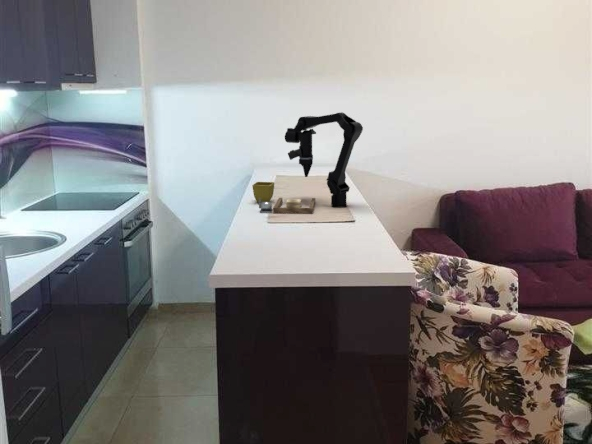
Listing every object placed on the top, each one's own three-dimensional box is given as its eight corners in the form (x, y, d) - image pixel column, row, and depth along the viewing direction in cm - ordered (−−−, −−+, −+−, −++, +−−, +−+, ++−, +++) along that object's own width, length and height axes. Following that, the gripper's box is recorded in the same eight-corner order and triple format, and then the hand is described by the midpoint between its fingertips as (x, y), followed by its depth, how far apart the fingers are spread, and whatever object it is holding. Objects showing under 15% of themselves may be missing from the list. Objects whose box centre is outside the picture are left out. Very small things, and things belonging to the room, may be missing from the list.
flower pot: (270, 204, 291) (270, 185, 289) (252, 203, 293) (252, 184, 291) (274, 200, 300) (274, 182, 298) (257, 200, 301) (256, 181, 299)
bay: (315, 203, 293) (315, 198, 293) (312, 213, 271) (312, 208, 270) (279, 202, 295) (279, 197, 294) (273, 213, 272) (273, 207, 272)
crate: (301, 210, 278) (301, 199, 277) (300, 213, 272) (300, 202, 271) (287, 210, 279) (287, 199, 278) (286, 213, 273) (286, 202, 272)
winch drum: (272, 210, 278) (272, 197, 276) (271, 212, 273) (271, 199, 272) (260, 210, 278) (259, 197, 277) (258, 212, 274) (258, 199, 272)
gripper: (289, 141, 300) (290, 173, 303) (287, 146, 281) (288, 180, 285) (312, 141, 299) (312, 173, 303) (312, 145, 281) (312, 180, 285)
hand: (306, 176), depth 294 cm, fingers closed
